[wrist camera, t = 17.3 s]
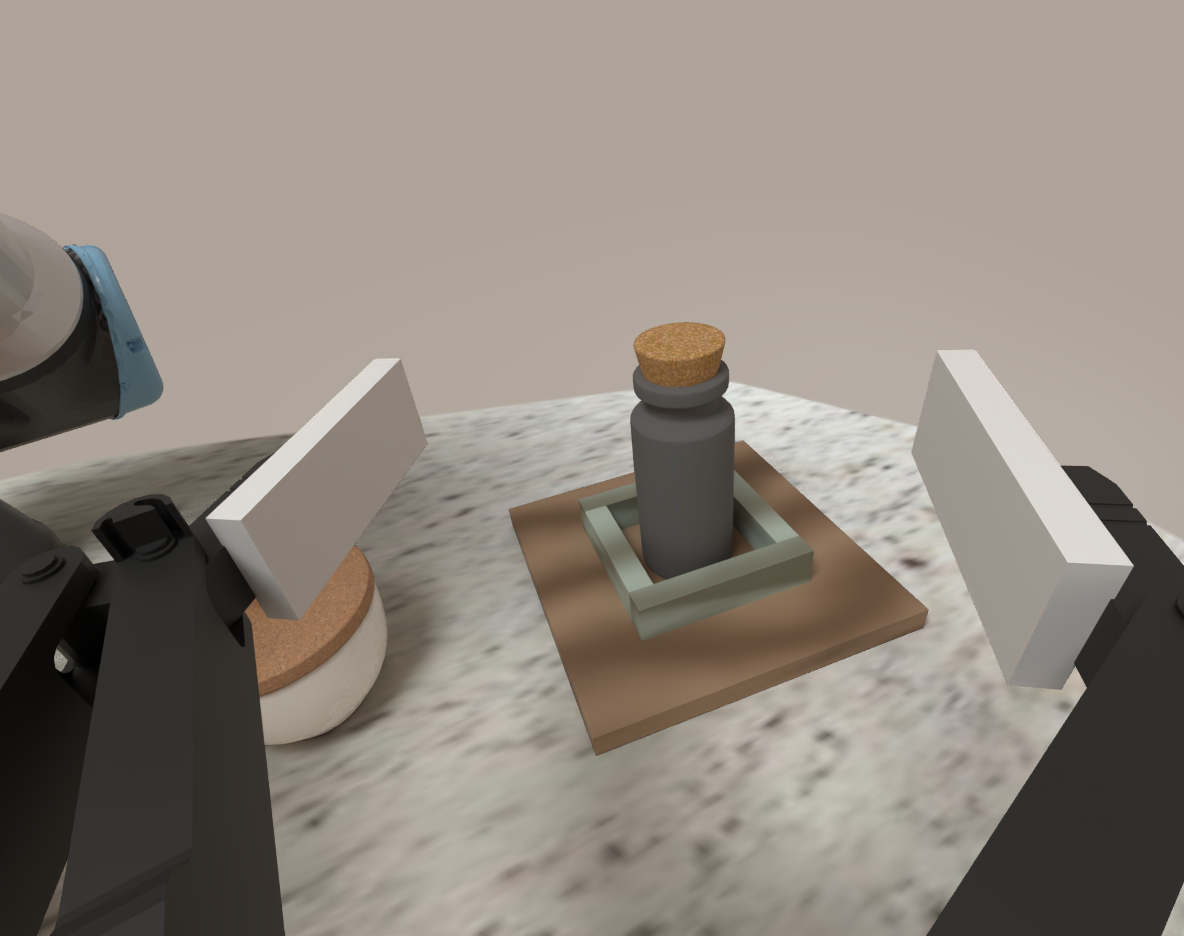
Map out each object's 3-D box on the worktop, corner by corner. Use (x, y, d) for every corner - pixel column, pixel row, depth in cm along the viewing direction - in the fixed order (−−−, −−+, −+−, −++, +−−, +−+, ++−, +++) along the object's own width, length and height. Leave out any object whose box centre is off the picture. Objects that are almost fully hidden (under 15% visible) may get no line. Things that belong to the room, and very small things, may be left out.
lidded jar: (439, 630, 38) (395, 517, 33) (349, 798, 30) (271, 684, 25) (298, 613, 41) (236, 507, 36) (179, 764, 33) (75, 654, 27)
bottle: (707, 597, 36) (704, 372, 28) (625, 564, 39) (600, 352, 31) (746, 539, 40) (755, 324, 31) (669, 513, 43) (658, 311, 34)
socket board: (512, 524, 46) (502, 482, 44) (742, 455, 50) (744, 414, 48) (595, 755, 30) (586, 709, 28) (923, 627, 34) (938, 578, 32)
